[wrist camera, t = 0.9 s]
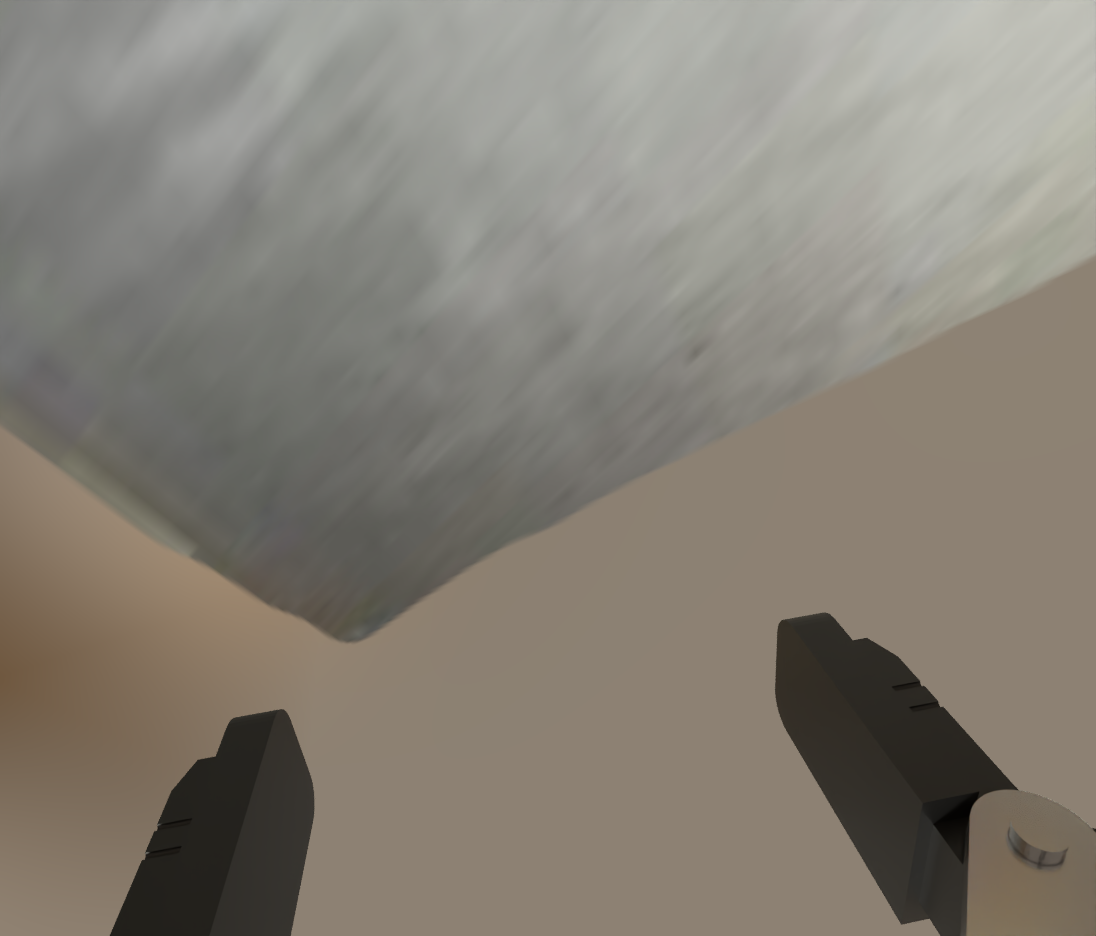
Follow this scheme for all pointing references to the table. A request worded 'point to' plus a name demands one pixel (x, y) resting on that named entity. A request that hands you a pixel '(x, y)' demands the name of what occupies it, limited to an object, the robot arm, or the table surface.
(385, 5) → the table surface
